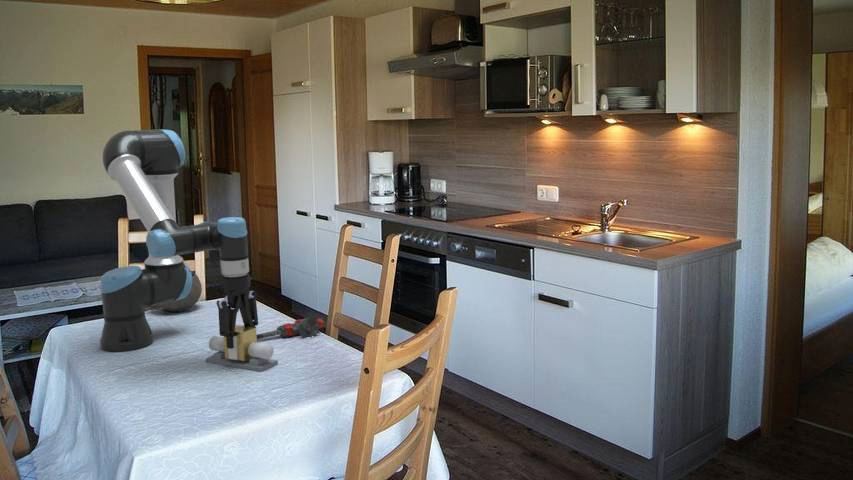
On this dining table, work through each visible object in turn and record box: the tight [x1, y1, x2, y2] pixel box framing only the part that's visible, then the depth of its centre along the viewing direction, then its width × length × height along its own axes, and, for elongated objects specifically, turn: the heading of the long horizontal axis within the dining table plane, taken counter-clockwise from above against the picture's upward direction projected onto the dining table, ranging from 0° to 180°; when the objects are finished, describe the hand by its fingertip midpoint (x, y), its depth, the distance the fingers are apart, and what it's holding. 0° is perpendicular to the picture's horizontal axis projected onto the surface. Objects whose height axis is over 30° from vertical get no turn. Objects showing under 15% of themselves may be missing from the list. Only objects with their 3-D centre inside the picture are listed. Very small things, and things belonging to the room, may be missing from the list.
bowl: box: [156, 271, 203, 313], centre depth 266 cm, size 18×18×13 cm
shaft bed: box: [205, 335, 279, 373], centre depth 206 cm, size 20×7×6 cm, turn 62°
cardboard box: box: [223, 324, 258, 361], centre depth 205 cm, size 7×6×8 cm
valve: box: [256, 317, 325, 340], centre depth 232 cm, size 6×26×15 cm
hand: (241, 355), depth 206 cm, fingers closed on cardboard box, 5 cm apart
